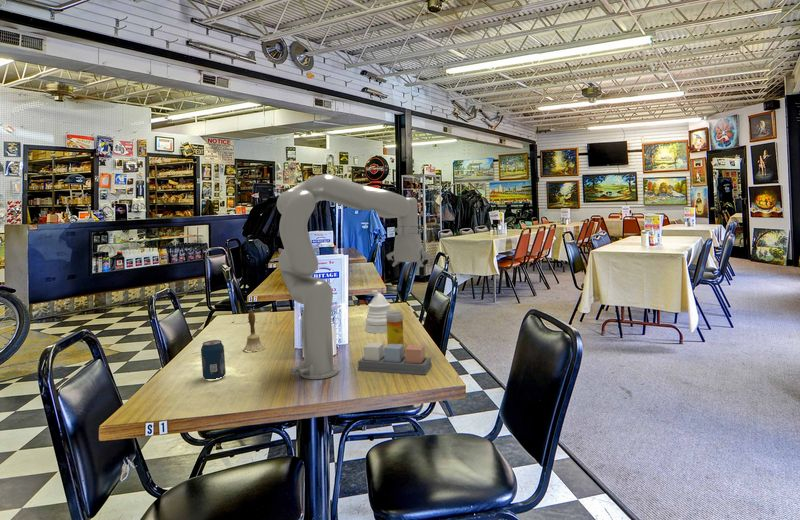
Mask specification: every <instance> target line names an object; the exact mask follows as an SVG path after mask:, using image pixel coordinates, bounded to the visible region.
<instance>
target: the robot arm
mask: <svg viewBox="0 0 800 520" xmlns="http://www.w3.org/2000/svg"><path fill="white" fill-rule="evenodd" d="M321 201H327V202H330V203H335V204H337V205H341V206H345V207H347V208H351V209H354V210H359V211H375V212H376V214H377V215H378V216H379V217H381V218H383V219H396V218H397V227H396V228H394V229H393V231H394V233H397V235H395V237H394V244H393V247H394V248H393V251H391V252H389V253H387V254H386V258H387V260H388V263H390V265H391V266H392V267H393V275H394V278H399V277H400V266H399V264H400V263H417V264H418V265H419V267H418V277H419V278H420V279H422V278H423V277H424V276H425V272H426V271H425V268H426V265H428V263H429V262H430V259H431V258H432V254H430V253H429V252H427V251H425V250H423V244H422V240H421V239H422V238H421V235H420V234H419V222H418V221H419V218H418V217H419V215H418V211H419V210H418V200H417V198H415V197H406V196H403V195H401V194H399V193H396V192H394V191H390V190H386V189H381V188H378V187H377V188H376V187H373V186H368V185H365V184H361V183H357V182H354V181H351V180H348V179H345V178H343V177H340V176H337V175H334V174H329V173H324V174H318V175H313V176H312V177H309V178H307V179H305V180H303V181H302V182H300V183H298V184H297V185H294V186H293V187H291V188H289V189H287V190H285V191H284V192H282V193H281V194H280V195H279V196H278V198H277V201H276V208H277V210H278V212H279V214H280V215H281V216H280V220H279V226H278V228H279V231H278V232H279V236H280V239H281V242H282V246H283V248H284V249H283V250H282V251H280V254H279V256H278V267H279V271H280V273H281V276H282V279H283V281H284V284H285V286H286V289H287V292H288V293H289V295H290V297H291V299H293V301H295V302H296V303H298V304H300V305H303V308H302V314H301V328H302V330H301V331H302V346H303V360H302V361H300V364H299V365H298V366H293V367H291V368H290V373H291V374H297V373H299V376H300V377H302V378H304V379H308V380H322V379H327V378H331V377H333V376H335V375H337V374H338V373H339V370H340V369H339V366H337V365H335V363H334V362H335V361H334V348H333V347H334V346H333V329H332V328H333V326H332V324H333V323H332V309H333V308H332V307H333V299H334V293H333V288H332V286H331V284H330V283H329V282H327V281H326V280H324V278H320V277H315V276H313V275H314V274H315V273H316V272H317V271H318V269H319V259H318V256H317V254H316V252H315V249H314V246H313V243H312V240H311V237H310V233H309V231H308V223H309V219H310V217H311V215H312V214H313V212H314V210H315V207H316V204H317V203H318V202H321ZM392 257H393V258H392ZM423 257H425V260H423Z"/></svg>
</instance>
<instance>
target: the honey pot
mask: <svg viewBox="0 0 800 520" xmlns="http://www.w3.org/2000/svg"><path fill="white" fill-rule="evenodd" d="M371 293H372V294H373V295H374V296H373V298H372V300H371V302H370V303H368V304H367V306H368V310H367V314H366V317H365V331H366V332H367V333H369V332H370V334H375V333H380V334H387V318H386V314H387V312H388V311H390V310H392V309H391V303H390V302H388V300H387V298H386V297H385V296H384V295H383V294H382V293H381V292H379V290H376V289H375V290H371Z"/></svg>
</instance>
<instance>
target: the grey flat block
mask: <svg viewBox="0 0 800 520" xmlns="http://www.w3.org/2000/svg"><path fill="white" fill-rule="evenodd" d="M357 362H358V366H357V371H364V372H375V373H376V372H379V373H388V374H389V373H390V374H391V373H392V374H403V375H417V374H423V375H422V376H425V374H426V375H427V373H428V372H429V371H430V369H431V367H432V366H433V363H432V357H428V356H427V357H426V356H425V359H424V361H423V362H422V363H421V364H419V363H406V360H405V355H404V358H403V359H402V360H401V361H400V362H388V361H385V355H384V357H383V358H382V359H381V360H380V361H372V360H364V356H363V357H361V358H360V359H359V360H358V361H357ZM428 370H429V371H428Z"/></svg>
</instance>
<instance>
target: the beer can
mask: <svg viewBox="0 0 800 520" xmlns="http://www.w3.org/2000/svg"><path fill="white" fill-rule="evenodd" d="M403 317H404V316H403V313H402V310H400V309H393V310H392V309H391V310H390V311H388V312H387V314H386V318H387V333H386V339H387V342H386V343H387V345H388V344H404V343H405V342H404V321H403V320H404V318H403ZM404 345H405V344H404Z"/></svg>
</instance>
